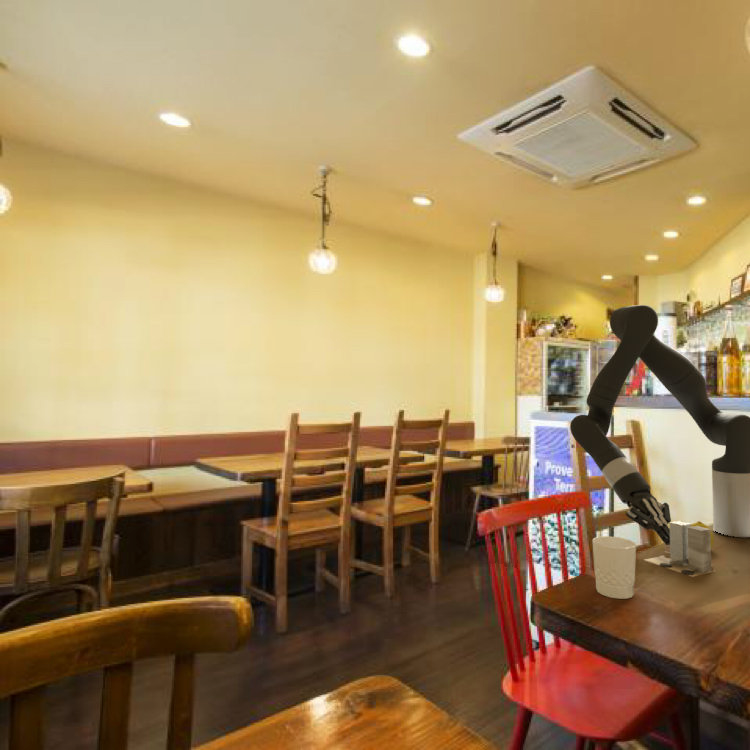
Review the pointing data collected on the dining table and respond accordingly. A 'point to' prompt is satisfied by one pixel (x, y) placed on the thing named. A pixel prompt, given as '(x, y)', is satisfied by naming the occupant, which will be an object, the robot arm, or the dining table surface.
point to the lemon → (703, 527)
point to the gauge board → (692, 554)
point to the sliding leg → (679, 543)
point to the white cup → (614, 566)
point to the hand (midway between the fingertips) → (672, 542)
